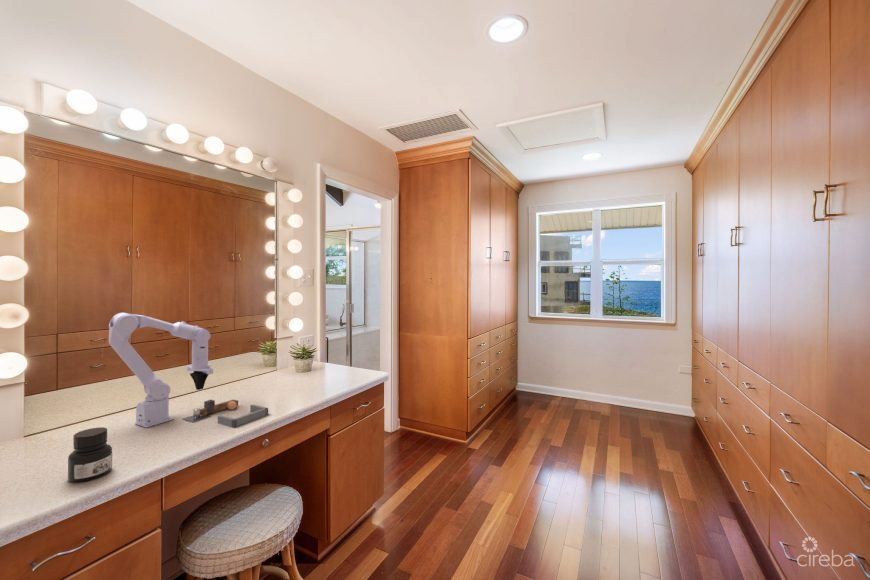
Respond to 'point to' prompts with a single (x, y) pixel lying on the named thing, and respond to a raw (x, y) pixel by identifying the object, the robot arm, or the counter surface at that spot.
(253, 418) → the tray
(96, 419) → the counter surface
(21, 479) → the counter surface
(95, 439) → the ink bottle
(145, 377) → the robot arm
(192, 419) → the pivot base
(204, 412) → the lever
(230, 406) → the ball
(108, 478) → the counter surface
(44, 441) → the counter surface
